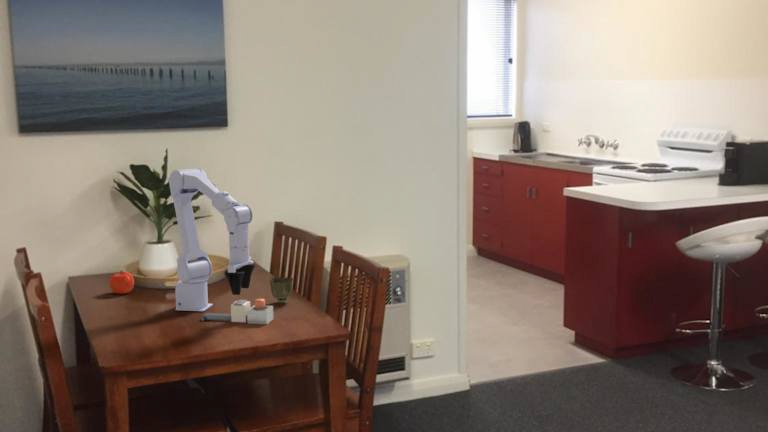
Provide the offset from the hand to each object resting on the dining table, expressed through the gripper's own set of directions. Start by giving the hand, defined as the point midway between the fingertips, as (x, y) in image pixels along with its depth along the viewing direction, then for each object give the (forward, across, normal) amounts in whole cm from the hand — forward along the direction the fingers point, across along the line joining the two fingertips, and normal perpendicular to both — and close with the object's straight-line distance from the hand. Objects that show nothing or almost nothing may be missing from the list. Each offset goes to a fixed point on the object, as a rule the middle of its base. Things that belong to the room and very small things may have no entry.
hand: (240, 291), depth 238 cm
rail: (+9, 0, +5) cm, 10 cm away
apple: (+9, +26, +52) cm, 59 cm away
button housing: (+9, 0, -6) cm, 11 cm away
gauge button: (+5, 0, -6) cm, 7 cm away
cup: (+9, +21, -6) cm, 24 cm away
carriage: (+9, 0, 0) cm, 9 cm away
